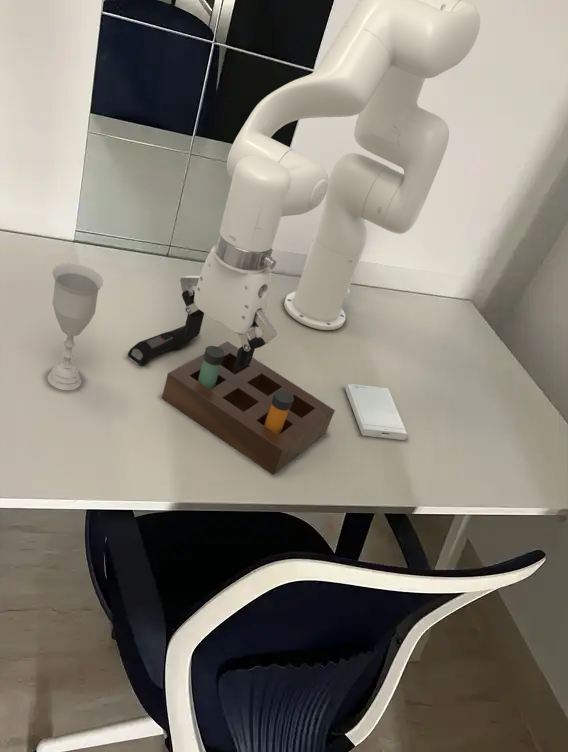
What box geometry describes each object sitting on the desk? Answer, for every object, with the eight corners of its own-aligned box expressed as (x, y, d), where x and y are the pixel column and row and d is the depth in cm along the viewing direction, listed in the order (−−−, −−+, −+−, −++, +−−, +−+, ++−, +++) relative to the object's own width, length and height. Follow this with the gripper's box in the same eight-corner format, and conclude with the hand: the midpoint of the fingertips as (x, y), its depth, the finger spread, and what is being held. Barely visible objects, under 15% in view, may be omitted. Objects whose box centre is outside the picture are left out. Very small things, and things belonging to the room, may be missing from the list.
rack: (220, 365, 136) (227, 341, 133) (325, 433, 130) (335, 410, 126) (161, 398, 125) (167, 372, 122) (273, 475, 118) (282, 450, 115)
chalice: (97, 387, 122) (113, 285, 111) (60, 399, 118) (73, 295, 106) (68, 361, 125) (81, 259, 114) (31, 372, 121) (41, 268, 109)
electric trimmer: (203, 341, 140) (207, 326, 138) (141, 368, 129) (145, 352, 127) (187, 331, 141) (191, 315, 139) (125, 356, 130) (128, 340, 128)
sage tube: (199, 394, 128) (213, 343, 122) (213, 403, 127) (228, 353, 121) (188, 401, 126) (201, 349, 120) (202, 410, 125) (216, 359, 119)
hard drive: (347, 382, 140) (364, 428, 131) (389, 388, 142) (409, 433, 133) (344, 390, 141) (361, 435, 132) (386, 395, 143) (405, 440, 134)
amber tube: (263, 437, 124) (281, 387, 118) (279, 447, 124) (297, 397, 117) (253, 445, 122) (270, 394, 116) (268, 455, 121) (286, 405, 115)
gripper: (307, 273, 110) (274, 371, 121) (211, 216, 115) (187, 316, 126) (277, 287, 104) (245, 389, 115) (178, 227, 109) (156, 330, 120)
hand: (215, 351), depth 120 cm, fingers open, 9 cm apart
